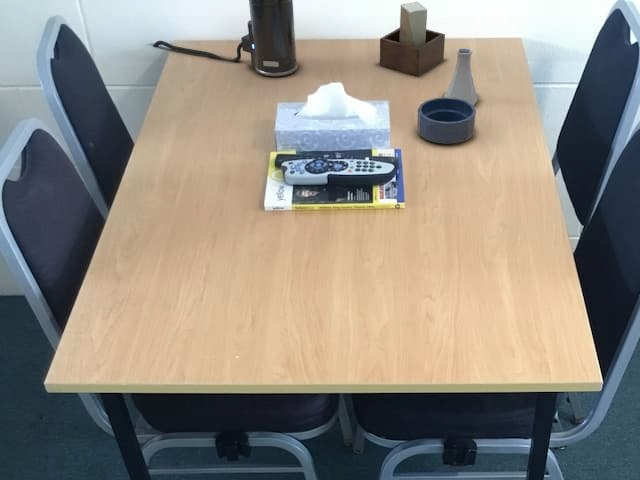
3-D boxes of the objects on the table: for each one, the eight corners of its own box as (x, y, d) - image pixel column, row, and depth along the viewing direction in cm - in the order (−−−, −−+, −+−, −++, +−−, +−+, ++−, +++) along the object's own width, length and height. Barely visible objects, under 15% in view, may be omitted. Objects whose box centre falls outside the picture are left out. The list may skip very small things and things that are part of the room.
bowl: (406, 135, 170) (407, 113, 167) (436, 114, 176) (438, 92, 173) (454, 151, 166) (456, 128, 163) (484, 129, 172) (486, 106, 169)
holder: (379, 65, 192) (379, 38, 188) (405, 49, 198) (406, 23, 194) (418, 76, 188) (419, 49, 184) (443, 60, 194) (445, 34, 190)
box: (398, 56, 194) (399, 3, 186) (415, 53, 195) (417, 0, 187) (408, 65, 191) (409, 11, 182) (425, 62, 192) (427, 8, 184)
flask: (478, 93, 183) (482, 44, 175) (477, 109, 178) (482, 58, 171) (444, 92, 183) (447, 42, 176) (442, 107, 179) (445, 57, 171)
